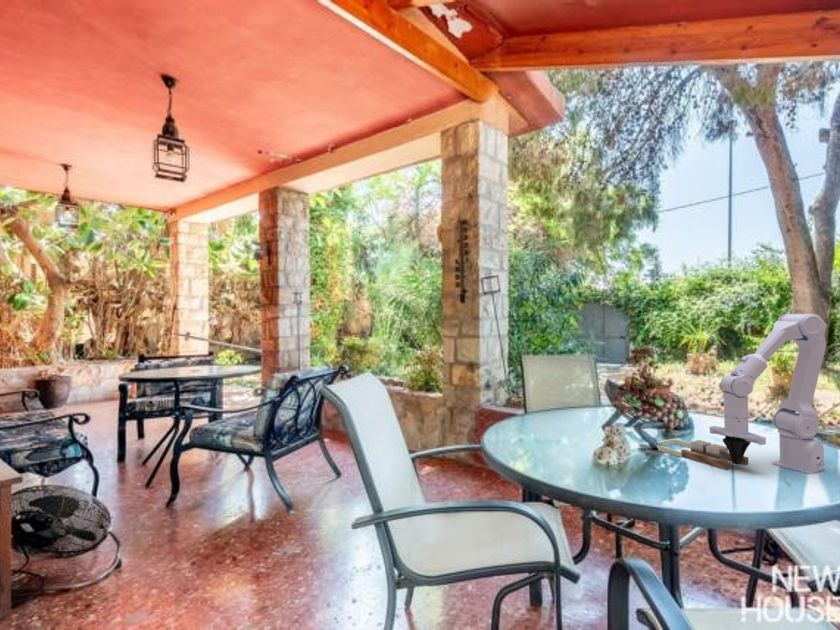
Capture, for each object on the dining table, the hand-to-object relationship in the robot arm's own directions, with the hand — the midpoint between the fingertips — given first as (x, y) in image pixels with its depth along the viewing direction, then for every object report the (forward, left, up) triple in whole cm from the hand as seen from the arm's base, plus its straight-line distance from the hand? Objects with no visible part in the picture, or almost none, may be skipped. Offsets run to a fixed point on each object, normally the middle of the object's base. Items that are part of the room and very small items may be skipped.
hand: (737, 463), depth 134 cm
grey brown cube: (+6, 0, -1) cm, 6 cm away
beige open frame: (+19, 0, -1) cm, 19 cm away
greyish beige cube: (+11, 0, -1) cm, 11 cm away
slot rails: (+7, 0, -1) cm, 7 cm away
